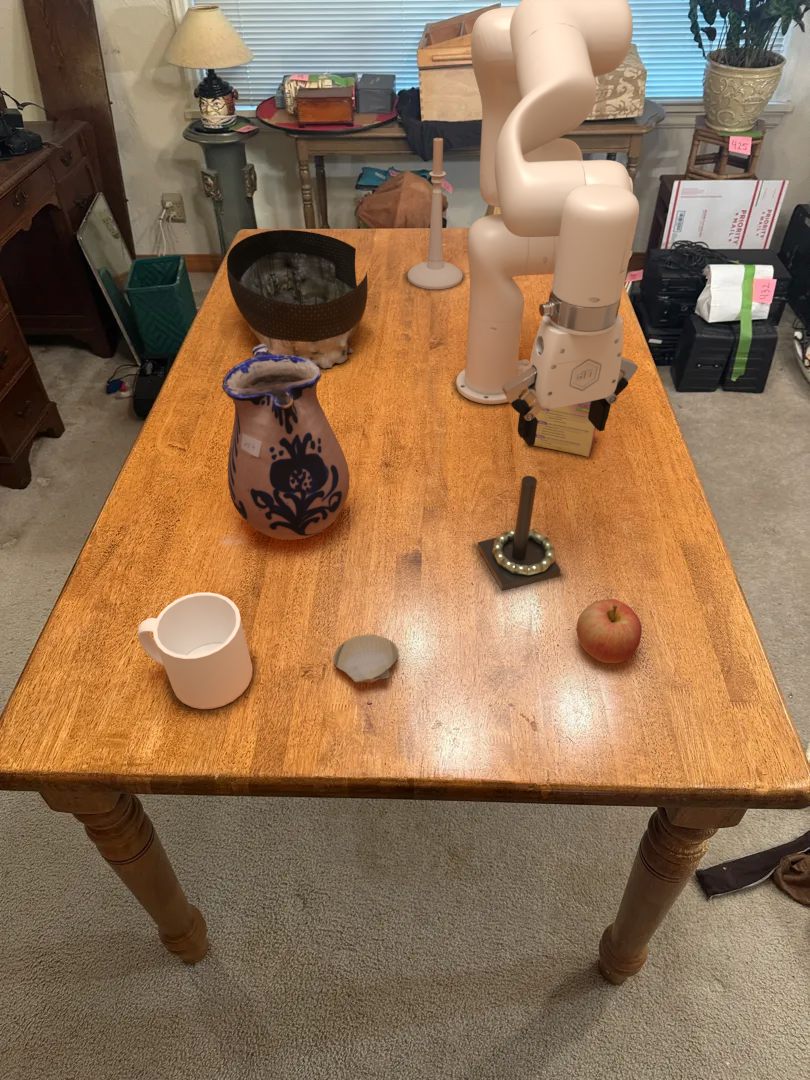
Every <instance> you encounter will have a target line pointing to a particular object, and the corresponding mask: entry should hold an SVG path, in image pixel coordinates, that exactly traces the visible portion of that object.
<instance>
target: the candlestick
mask: <svg viewBox="0 0 810 1080" xmlns="http://www.w3.org/2000/svg"><path fill="white" fill-rule="evenodd" d="M432 146H433V147H432V148H433V149H432V151H433V152H432V171H429V172H428V173H429V176H430V177H431V180H430V182H431V183H432V187H433V188H432V192H431V193H432V194H431V195H432V196H431V208H430V209H431V210H430V224H429V238H428V252H427V260H426V261H422V262H419V263H417V264H415V265H413V266H412V267H411V268H410V269H409V270H408V271H407V280H408V282H409V283H411V285H414V286H416V287H418V288H420V289H426V290H445V289H451V288H453V287H455V286H457V285H459V284H460V283H461V282H462V281H463V278H464V277H463V276H464V275H463V271H462V270H461V269H460V268H459V267H458V266H456V265H455V264H453V263H450V262H447V261H444V245H443V244H444V241H443V196H442V195H443V191H442V184H443V183H444V181H445V179H444V177H445V176H446V175H447V173H446V171H443V159H444V158H443V156H444V139H443V138H442V137H435V138H433V145H432Z"/></svg>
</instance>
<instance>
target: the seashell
mask: <svg viewBox="0 0 810 1080" xmlns="http://www.w3.org/2000/svg"><path fill="white" fill-rule="evenodd" d="M398 658H399V649H398V647H397V645H396V644H395V642H392V640H390V639H388V638H387V637H384V636H380V635H377V634H376V635H374V634H363V635H362V634H360V635H358V636H354V637H352V638H349V639H348V640H346V641H343V643H341V644H340V645H339V646H338V647H337V648H336V650H335V651H334V653H333V658H332V661H333V664H334V665H335V667H336V668H337V669H339V670H340V671H342V672H343V673H344V674H347V676H348V677H349V678H350V679H352V681H353V682H355V683H359V684H361V683H367V684H368V683H370V684H372V683H375V682H376V681H378V680H382V679H388V678H389V677H390V674H391V672H390V670H391V668H392V666H394V664H395V663H396V661H398Z"/></svg>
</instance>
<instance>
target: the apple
mask: <svg viewBox="0 0 810 1080" xmlns="http://www.w3.org/2000/svg"><path fill="white" fill-rule="evenodd" d="M638 616H639V615H638V614H637V613H636V612H635V611H634V609H633V608H632V607H630V606H629V605H628V604H626V603H624V602H623V601H620V600H619V599H615V598H607V599H599V600H595V601H593V602H592V603H591V604H589V605H588V606H587V607H586V608H584V609H583V610H582V612H581V613H580V614H579V616H578V619H577V621H576V635H577V638H578V641H579V643H580V645H581V647H582V648H583V650H584V651H585V652H586V653H588V655H590V656H591V657H592V658H594V659H596V660H597V661H600V662H601V663H606V664H616V663H622V662H624V661H627V660H628V659H630V658H631V657H632V656H633V655H634V654H635V652H636V651H637V650H638V648H639V646H640V643H641V639H642V623H641V619H640V618H639V617H638Z"/></svg>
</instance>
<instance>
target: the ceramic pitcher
mask: <svg viewBox="0 0 810 1080" xmlns="http://www.w3.org/2000/svg"><path fill="white" fill-rule="evenodd" d="M251 353H252V357H249V358H247V359H246V360H243V361H242V362H239V363H238V364H235V365H234V366H233V367H231V369H230V370H228V371H227V373H226V375H225V376H224V377H223V380H222V385H221V387H222V391H223V392H224V394H225V395H227V396H228V398H230V399H231V400H232V402H233V405H234V419H233V425H232V431H231V432H232V433H231V438H230V443H229V449H228V462H227V484H228V490H229V495H230V499H231V502H232V504H233V506H234V508H235V509H236V511H237V513H238V514H239V515H240V517H241V518H242V519H243V520H244V521H245V522H246V523H247V524H248V525H249V526H251V527H252V528H253V529H255V530H256V531H258V532H259V533H261V534H263V535H265V536H268V537H271V538H274V539H277V540H287V541H295V540H301V539H306V538H310V537H313V536H315V535H317V534H319V533H321V532H322V531H324V530H325V529H327V528H328V527H330V526H331V525H332V524H333V523H334V521H335V520H336V519H337V517H338V516H339V514H340V513H341V511H342V510H343V508H344V506H345V504H346V502H347V499H348V495H349V491H350V490H349V489H350V470H349V466H348V462H347V459H346V456H345V453H344V451H343V449H342V446H341V445H340V443H339V441H338V439H337V437H336V435H335V433H334V430H333V428H332V427H331V424H330V423H329V420H328V418H327V416H326V414H325V411H324V410H323V408H322V406H321V403H320V401H319V399H318V394H317V385H318V382H319V381H320V379H321V377H322V372H321V368H320V366H319V365H318V366H317V365H316V364H314V363H313V362H312V361H311V360H310V359H306V358H302V357H298V356H294V355H273V354H271V353H270V352H269V349H268V347H267V346H266V345H265V344H261V343H260V344H256V345H255V346H253V347H252V349H251Z"/></svg>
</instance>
